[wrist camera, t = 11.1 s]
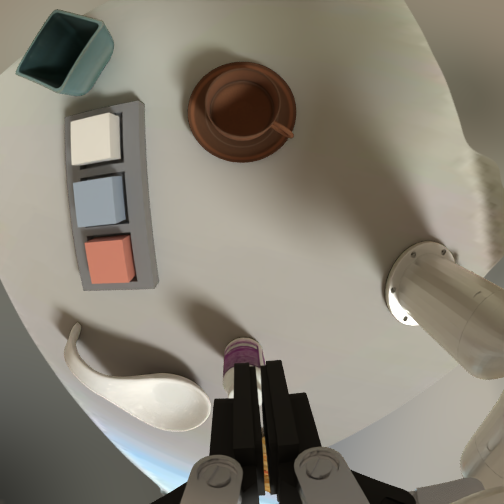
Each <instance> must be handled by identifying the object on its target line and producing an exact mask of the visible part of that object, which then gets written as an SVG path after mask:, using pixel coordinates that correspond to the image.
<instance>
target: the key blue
mask: <svg viewBox="0 0 504 504" xmlns="http://www.w3.org/2000/svg"><path fill="white" fill-rule="evenodd" d="M73 189H74V200H75V209H76V218H77V225H78V227H87V226H97V225H106V224H116V223H118V222H121V221H123V220H125V219H126V217H125V207H124V197H123V185H122V176H114V177H106V178H100V179H94V180H88V181H82V182H76V183H73Z"/></svg>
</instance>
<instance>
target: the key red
mask: <svg viewBox="0 0 504 504" xmlns="http://www.w3.org/2000/svg"><path fill="white" fill-rule="evenodd" d="M85 249H86V255H87V261H88V266H89V272H90V277H91V282H92V284H102V283H129V282H130V281H131V280H132V279H133V277H134V276H135V275H136V268H135V262H134V255H133V248H132V241H131V234H128V235H117V236H105V237H95V238H93V239H91V240H89V241H87V242H85Z"/></svg>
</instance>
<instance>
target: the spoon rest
mask: <svg viewBox="0 0 504 504" xmlns="http://www.w3.org/2000/svg"><path fill="white" fill-rule="evenodd" d="M80 331H81V325H80V324H79V323H78V322H77V323H76V324H75V325H74V326H73V328H72V330H71V332H70V335H69V339H68V341H67V344H66V346H65V349H64V358H65V361H66V363H67V365H68V367H69V369H70V370H71V371H72V373H73V374H74V375H75V376H76V378H77V379H78V380H79V381H80V382H81V383H82V384H84V385H85V386H86V387H87V388H89V389H90V390H91V391H93V392H94V393H96V394H98V395H99V396H101V397H103V398H105V399H106V400H108V401H110V402H111V403H113V404H115V405H116V406H118V407H120V408H121V409H123V410H124V411H126V412H127V413H129V414H131V415H132V416H134V417H136V418H137V419H139V420H141V421H143V422H145V423H146V424H149V425H151V426H153V427H156V428H159V429H162V430H167V431H177V432H178V431H187V430H191V429H194V428H196V427H198V426H200V425H201V424H202V423H203V422H204V421H205V420H206V419H207V418H208V416H209V414H210V411H211V402H210V400H209V398H208V396H207V394H206V393H205V392H204V391H203V390H202V389H201V388H200V387H199V386H198V385H197V384H196V383H194V382H193V381H191V380H189V379H187V378H185V377H182V376H179V375H175V374H169V373H156V374H147V375H138V376H128V377H117V376H108V375H104V374H101V373H99V372H97V371H95V370H94V369H92V368H91V367H90V366H88V365H87V364H86V363H85V362H84V361H83V359H82V358H81V357H80V355H79V353H78V351H77V348H76V342H77V340H78V337H79V335H80Z"/></svg>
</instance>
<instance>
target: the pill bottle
mask: <svg viewBox="0 0 504 504" xmlns="http://www.w3.org/2000/svg"><path fill="white" fill-rule="evenodd" d="M247 362H249V366H256V377H257V389H258V400H259V406H260V405H261V404H262V392H261V371H260V366H261V365H265V360H264V355H263V350H262V347H261V346H260V344H259V343H258V342H256V341H255V340H253V339H250V338H237V339H235V340H233V341H231V342H230V343H229V344H228V345H227V346H226V348H225V352H224V366H223V386H224V389H225V391H226V392H227V393H228V398H234V363H247Z"/></svg>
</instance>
